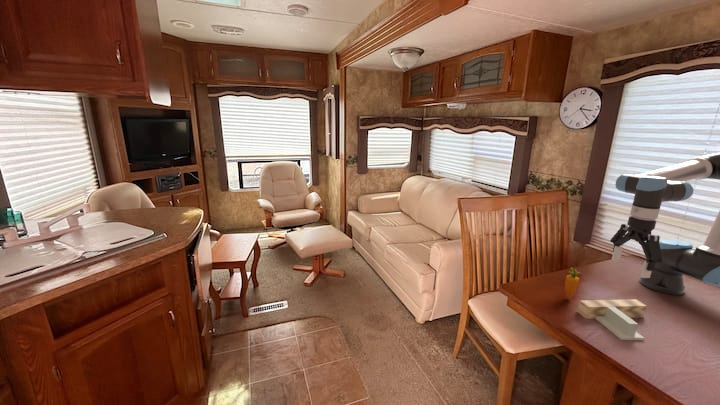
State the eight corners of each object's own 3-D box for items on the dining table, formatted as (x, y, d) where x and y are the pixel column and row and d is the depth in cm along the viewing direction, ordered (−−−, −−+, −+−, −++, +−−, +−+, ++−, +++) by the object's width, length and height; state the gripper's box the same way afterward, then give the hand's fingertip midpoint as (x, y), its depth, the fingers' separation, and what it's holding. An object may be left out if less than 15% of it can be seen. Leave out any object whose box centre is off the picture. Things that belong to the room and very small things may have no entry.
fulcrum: (615, 318, 116) (619, 305, 114) (643, 340, 104) (647, 325, 103) (595, 318, 116) (598, 305, 114) (621, 339, 104) (625, 325, 103)
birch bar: (632, 310, 121) (635, 299, 120) (643, 317, 117) (646, 305, 115) (577, 312, 120) (579, 300, 119) (585, 319, 116) (588, 307, 115)
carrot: (577, 303, 126) (584, 272, 122) (564, 302, 127) (571, 270, 123) (571, 296, 130) (578, 266, 126) (559, 295, 131) (565, 265, 127)
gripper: (606, 208, 121) (596, 254, 127) (664, 228, 97) (648, 285, 103) (625, 208, 121) (613, 255, 126) (688, 229, 97) (670, 285, 102)
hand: (629, 268), depth 114 cm, fingers open, 13 cm apart
